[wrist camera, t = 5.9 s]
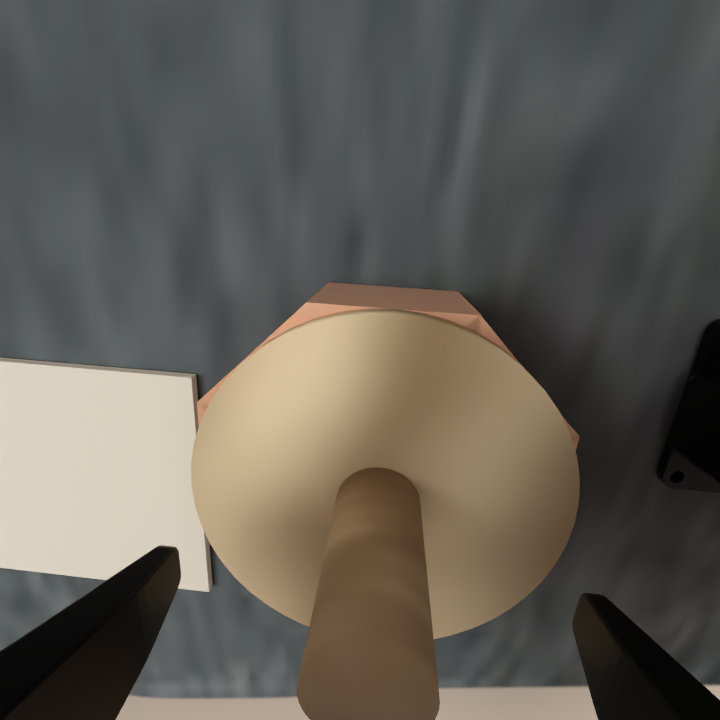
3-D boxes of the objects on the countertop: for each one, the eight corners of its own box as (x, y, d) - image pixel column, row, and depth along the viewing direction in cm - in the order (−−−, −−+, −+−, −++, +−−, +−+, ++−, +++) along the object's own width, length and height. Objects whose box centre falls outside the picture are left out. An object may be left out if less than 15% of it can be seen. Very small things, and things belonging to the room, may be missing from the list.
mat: (196, 374, 16) (191, 377, 16) (212, 584, 19) (208, 591, 19) (-63, 352, 17) (-73, 354, 16) (-1, 560, 20) (-9, 566, 20)
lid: (611, 325, 10) (870, 442, 5) (527, 637, 14) (616, 914, 8) (190, 293, 11) (-22, 363, 5) (213, 600, 14) (101, 834, 9)
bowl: (551, 297, 14) (610, 324, 10) (497, 548, 17) (526, 638, 14) (241, 275, 14) (187, 293, 11) (250, 522, 18) (212, 601, 14)
